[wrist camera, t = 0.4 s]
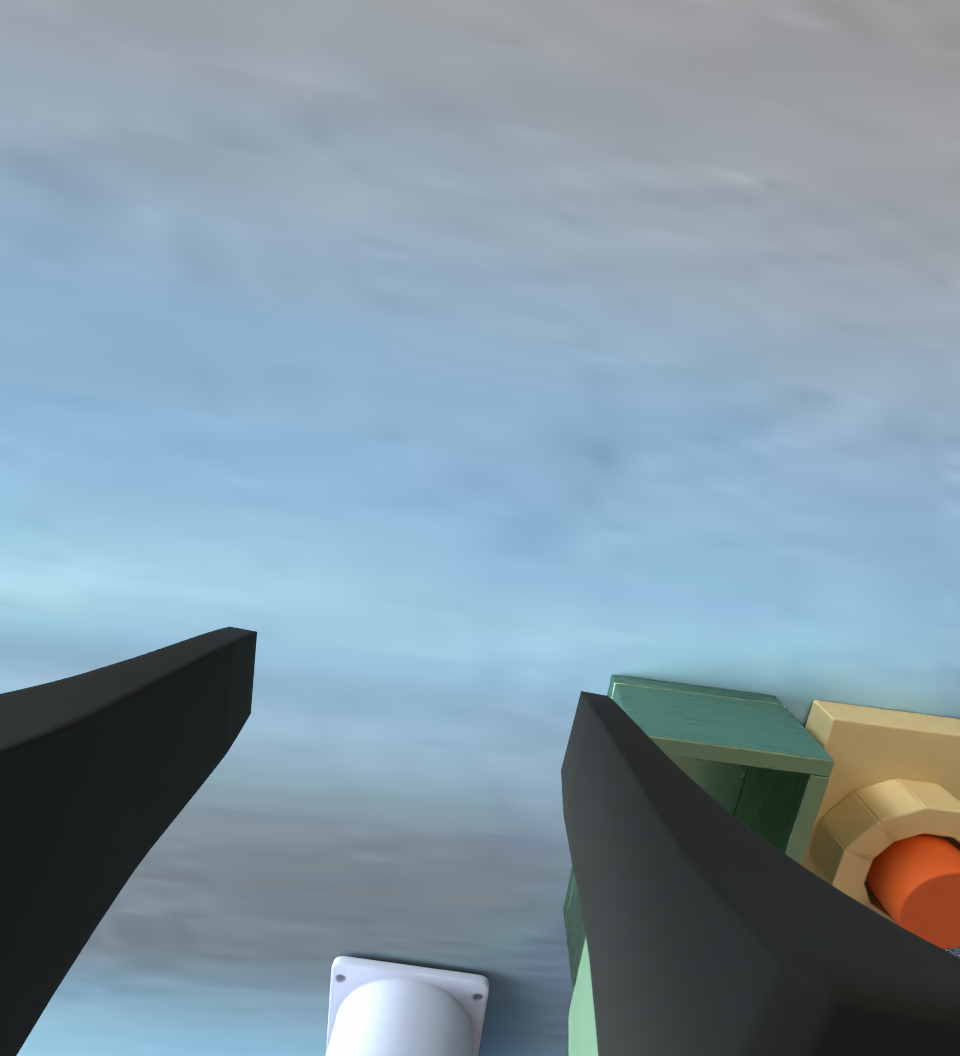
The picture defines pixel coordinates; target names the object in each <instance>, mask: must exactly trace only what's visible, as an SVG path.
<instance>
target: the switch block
mask: <svg viewBox="0 0 960 1056" xmlns="http://www.w3.org/2000/svg"><path fill="white" fill-rule="evenodd" d="M805 729H806V730H807V731H808V732H809V734H810V735H811V736H812V737H813V738H814V739H815V740H816V741H817V742H818V743H819V744H820V745H821V746H822V748H823V749H824V750H825V751H826V752H827V753H828V754H829V755H830V756H831V757H832V758H833V759H834V761H835V763H834V766H833V769H832V772H831V775H830V776H829V782H828V785H827V788H826V791H825V794H824V797H823V800H822V803H821V805H820V808H819V811H818V814H817V817H816V820H815V823H814V826H813V829H812V832H811V835H810V838H809V841H808V844H807V847H806V850H805V853H804V856H803V858H802V861H801V864H800V865H802V866H803V867H805V868H806V869H808V870H809V871H810V872H812V873H813V874H815V875H816V876H818V877H820V878H821V879H823V880H824V881H826V882H827V883H829V884H831V885H832V886H834V887H835V888H837V889H838V890H840V891H842V892H843V893H845V894H846V895H848V896H850V897H851V898H853V899H855V900H856V901H858V902H860V903H861V904H863V905H865V906H866V907H868V908H870V909H871V910H873V911H875V912H876V913H878V914H880V915H881V916H883V917H885V918H886V919H888V920H890V921H892V922H893V923H895V924H896V922H895V921H894V920H893V918H892V917H891V916H890V914H889V913H888V912H887V910H886V909H885V908H884V907H883V905H882V904H881V903H880V901H879V900H878V899H877V897H876V896H875V895H874V893H873V892H872V890H871V888H870V886H869V883H868V879H867V874H868V871H869V868H870V866H871V863H872V860H873V859H874V858H875V857H876V856H877V855H879V854H880V853H881V852H882V851H883V850H885V849H886V848H887V847H888V846H890V845H891V844H892V843H893V842H895V841H899V840H902V839H906V838H909V837H913V836H916V835H920V834H930V835H935V836H938V837H941V838H943V839H945V840H947V841H948V842H950V843H951V844H953V845H954V846H955V847H956V848H957V849H958V850H959V851H960V719H956V718H949V717H941V716H933V715H926V714H918V713H910V712H903V711H895V710H888V709H880V708H872V707H865V706H857V705H849V704H842V703H834V702H826V701H819V700H814V701H813V704H812V707H811V710H810V713H809V716H808V720H807V723H806V726H805Z"/></svg>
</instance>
